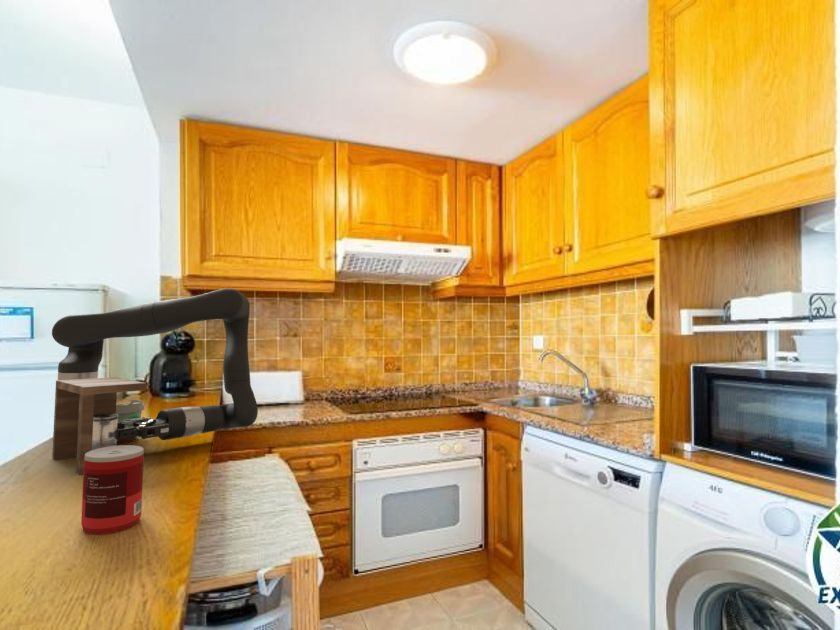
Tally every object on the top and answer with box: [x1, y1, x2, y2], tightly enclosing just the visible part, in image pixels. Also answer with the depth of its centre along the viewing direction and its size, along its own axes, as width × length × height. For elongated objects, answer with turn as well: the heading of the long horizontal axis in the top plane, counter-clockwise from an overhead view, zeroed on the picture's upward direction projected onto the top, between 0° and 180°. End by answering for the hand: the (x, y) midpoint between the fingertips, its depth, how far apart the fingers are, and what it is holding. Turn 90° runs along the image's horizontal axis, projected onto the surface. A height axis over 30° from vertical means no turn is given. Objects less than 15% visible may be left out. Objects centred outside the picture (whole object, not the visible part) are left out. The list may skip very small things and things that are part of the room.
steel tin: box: [92, 413, 118, 450], centre depth 106 cm, size 5×5×10 cm
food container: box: [116, 399, 145, 445], centre depth 124 cm, size 12×6×10 cm, turn 179°
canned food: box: [80, 444, 145, 535], centre depth 71 cm, size 8×8×11 cm
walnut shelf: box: [51, 376, 148, 475], centre depth 105 cm, size 18×12×18 cm, turn 52°
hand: (108, 432), depth 107 cm, fingers open, 8 cm apart
